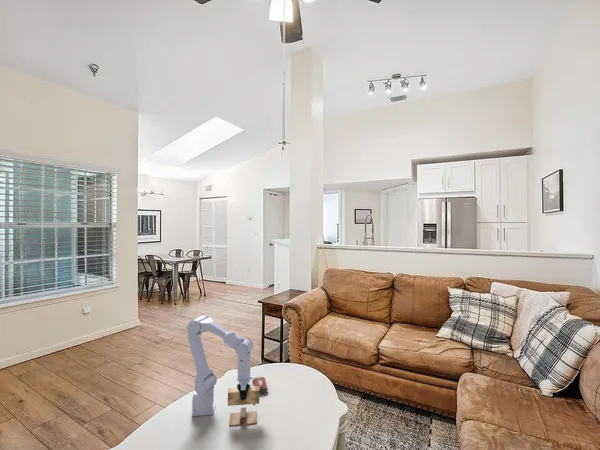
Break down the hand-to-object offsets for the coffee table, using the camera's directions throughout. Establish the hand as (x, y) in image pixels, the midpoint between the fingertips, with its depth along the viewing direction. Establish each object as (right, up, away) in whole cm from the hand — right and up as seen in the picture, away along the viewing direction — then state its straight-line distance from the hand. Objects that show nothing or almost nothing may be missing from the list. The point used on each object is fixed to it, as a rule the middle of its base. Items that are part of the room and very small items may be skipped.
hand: (243, 396), depth 132 cm
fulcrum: (0, -10, 0) cm, 10 cm away
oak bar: (0, -3, 0) cm, 3 cm away
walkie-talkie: (+4, -11, +22) cm, 25 cm away
